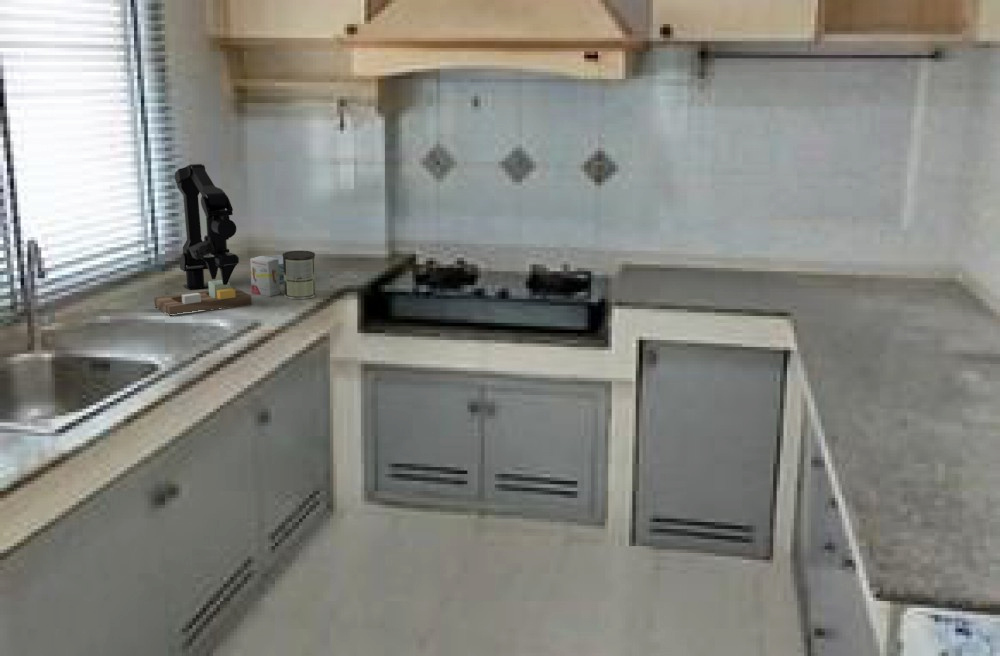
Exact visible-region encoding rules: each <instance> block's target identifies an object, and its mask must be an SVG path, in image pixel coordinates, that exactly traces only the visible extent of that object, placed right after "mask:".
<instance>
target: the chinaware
mask: <svg viewBox="0 0 1000 656" xmlns="http://www.w3.org/2000/svg"><path fill="white" fill-rule="evenodd" d="M265 256H266V257H271V258H276V259H277V260H279V284H281V283H284V269H283V255H279V254H278V255H276V254H271V255H265Z"/></svg>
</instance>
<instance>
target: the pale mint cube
mask: <svg viewBox="0 0 1000 656" xmlns="http://www.w3.org/2000/svg"><path fill="white" fill-rule="evenodd" d="M207 282H208V283H207V286H208V291H209V296H211V297H213V298H217V290H223V289H230V288H231V282H229V281H228V283H227V285H223V282H222V279H217V280H210V281H207Z"/></svg>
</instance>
